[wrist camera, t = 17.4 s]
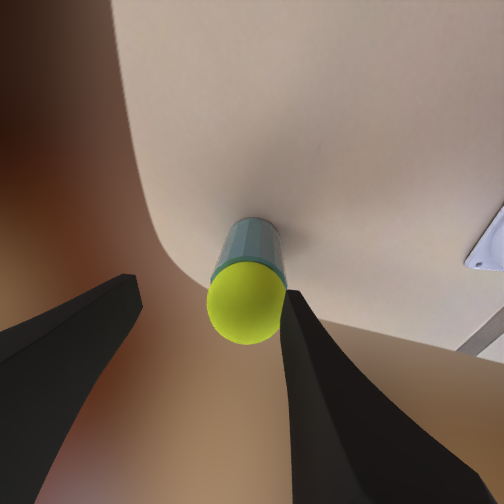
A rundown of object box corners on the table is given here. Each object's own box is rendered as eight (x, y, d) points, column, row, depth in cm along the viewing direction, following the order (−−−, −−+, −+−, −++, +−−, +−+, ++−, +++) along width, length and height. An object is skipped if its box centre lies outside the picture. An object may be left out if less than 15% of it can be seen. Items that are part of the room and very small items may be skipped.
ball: (289, 251, 14) (300, 302, 10) (279, 306, 16) (283, 367, 12) (216, 244, 14) (193, 291, 10) (216, 300, 17) (198, 358, 12)
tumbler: (284, 220, 19) (293, 260, 13) (276, 267, 21) (280, 320, 15) (227, 214, 19) (209, 252, 13) (226, 262, 21) (210, 313, 15)
